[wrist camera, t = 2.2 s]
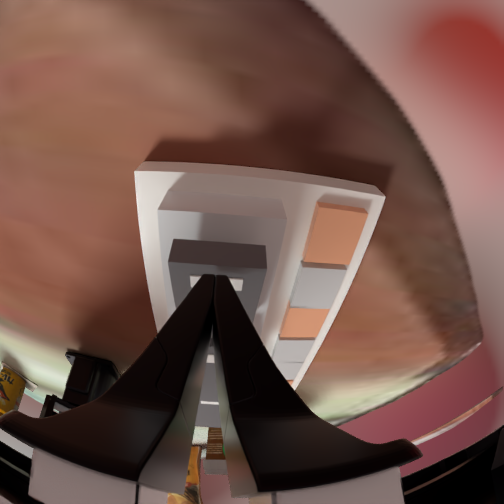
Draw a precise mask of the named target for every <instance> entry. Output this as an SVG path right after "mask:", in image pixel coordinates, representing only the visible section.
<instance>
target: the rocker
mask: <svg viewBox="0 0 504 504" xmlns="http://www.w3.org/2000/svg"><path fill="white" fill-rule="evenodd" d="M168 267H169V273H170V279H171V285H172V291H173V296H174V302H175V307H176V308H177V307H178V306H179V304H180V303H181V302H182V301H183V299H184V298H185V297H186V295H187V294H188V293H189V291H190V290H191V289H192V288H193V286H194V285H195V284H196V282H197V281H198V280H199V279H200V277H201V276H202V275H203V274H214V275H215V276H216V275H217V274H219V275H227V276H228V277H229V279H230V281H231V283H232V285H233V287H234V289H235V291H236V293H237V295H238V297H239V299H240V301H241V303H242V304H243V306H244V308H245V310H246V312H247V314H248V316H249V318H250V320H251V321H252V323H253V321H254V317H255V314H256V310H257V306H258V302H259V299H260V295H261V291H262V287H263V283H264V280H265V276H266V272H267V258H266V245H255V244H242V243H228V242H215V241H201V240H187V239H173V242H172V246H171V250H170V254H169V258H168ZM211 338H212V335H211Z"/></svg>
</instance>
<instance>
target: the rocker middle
mask: <svg viewBox="0 0 504 504" xmlns="http://www.w3.org/2000/svg"><path fill="white" fill-rule="evenodd" d="M199 401H207V402H218V393H217V384H216V374H215V363H214V352H213V340H212V338H211V341H210V346H209V351H208V357H207V362H206V367H205V373H204V378H203V383H202V389H201V394H200V400H199Z"/></svg>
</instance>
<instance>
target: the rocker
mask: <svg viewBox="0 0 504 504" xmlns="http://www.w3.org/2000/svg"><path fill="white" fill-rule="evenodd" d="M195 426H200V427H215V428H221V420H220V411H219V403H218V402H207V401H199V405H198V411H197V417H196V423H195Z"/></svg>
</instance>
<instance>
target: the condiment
mask: <svg viewBox="0 0 504 504" xmlns="http://www.w3.org/2000/svg"><path fill="white" fill-rule="evenodd" d="M26 380H27V379H26V378H24V377H23V376H22V375H20V374H19V373H18V372H16V371H15V370H13V369H12V368H11V367H9V366H8V365H7V364H5V363H4V362H2V366H1V372H0V417H1V416H2V415H3V414H5V413H7V412H9V411H11V410H16V411H18V408H19V405H20V402H21V399H22V396H23V393H24V389H25V387H26V388H27V389H29V390H30V391H32V392H33V391H34V390H35V388H36V387H37V385H35V384H33V383H32V382H30V381H28V380H27V381H28V382H27V381H26Z"/></svg>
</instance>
